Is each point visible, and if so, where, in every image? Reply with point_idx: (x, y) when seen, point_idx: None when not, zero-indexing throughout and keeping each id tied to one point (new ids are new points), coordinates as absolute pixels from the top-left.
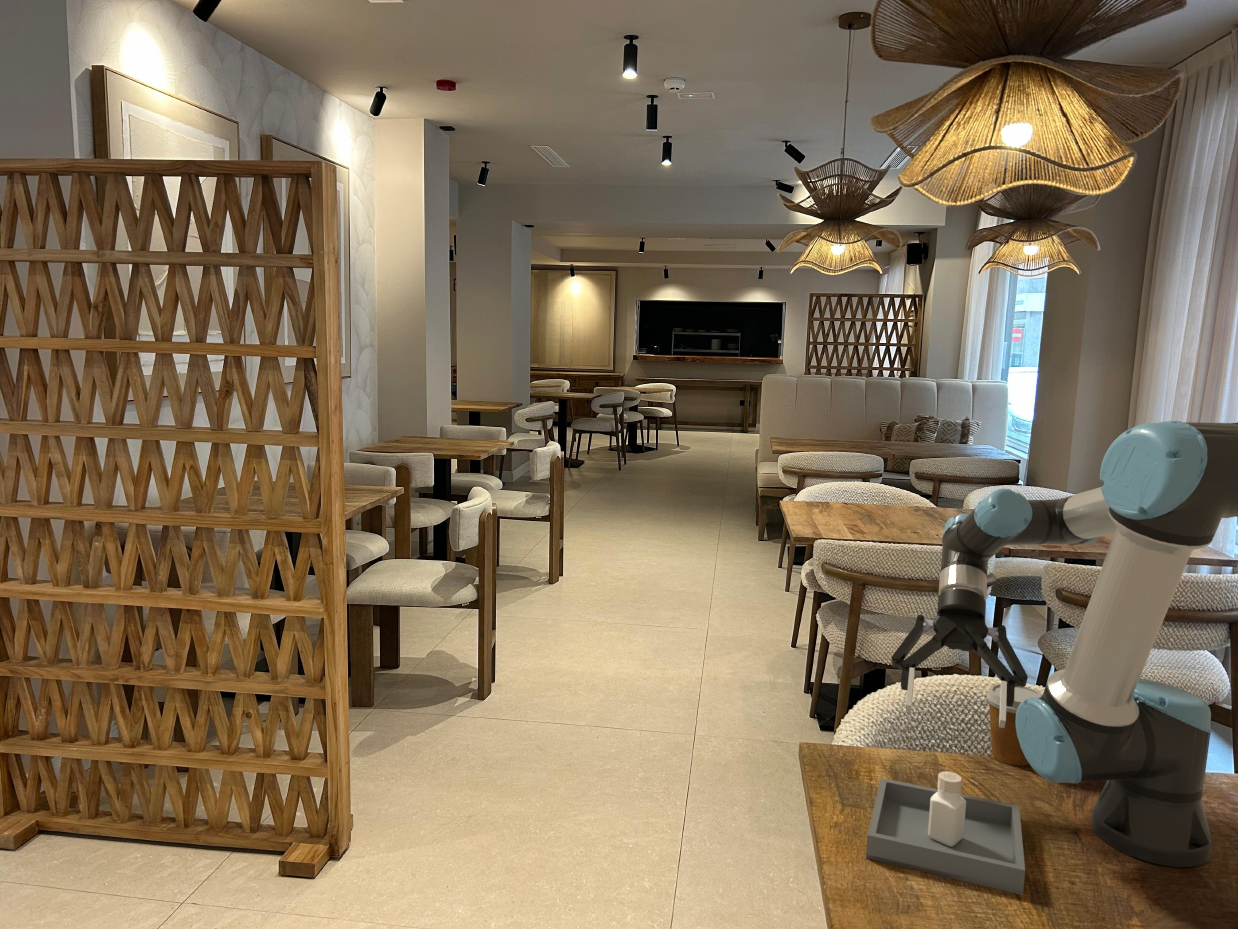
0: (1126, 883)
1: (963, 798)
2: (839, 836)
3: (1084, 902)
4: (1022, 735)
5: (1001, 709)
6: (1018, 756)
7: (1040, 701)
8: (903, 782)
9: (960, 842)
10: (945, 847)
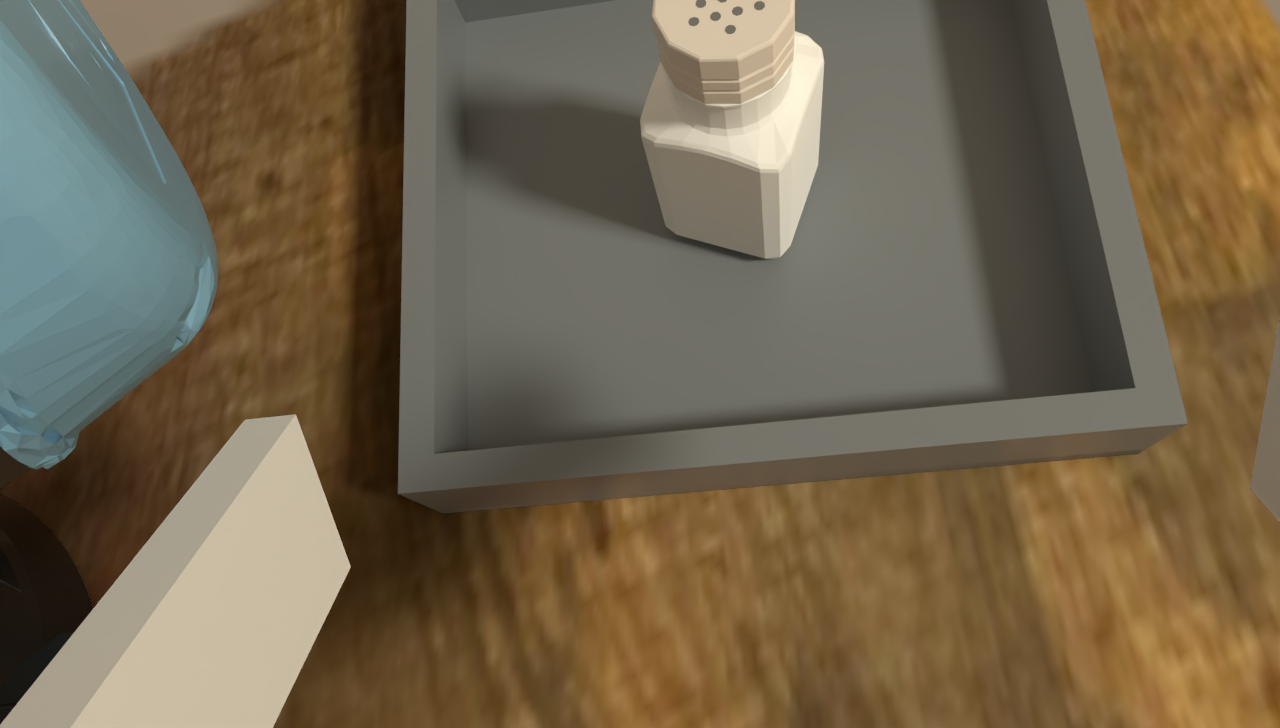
0: None
1: (654, 133)
2: (1183, 16)
3: (248, 84)
4: (138, 152)
5: (235, 491)
6: None
7: None
8: (1040, 436)
9: None
10: None
